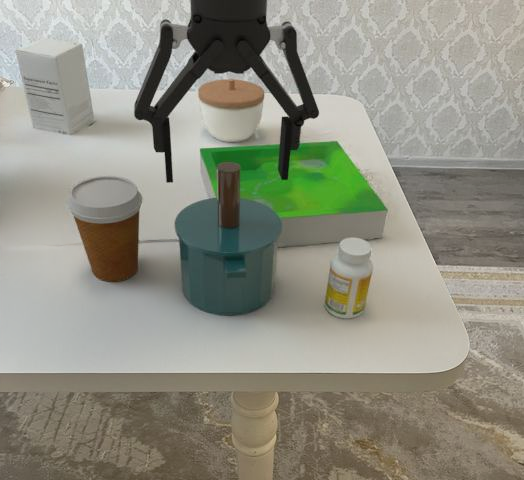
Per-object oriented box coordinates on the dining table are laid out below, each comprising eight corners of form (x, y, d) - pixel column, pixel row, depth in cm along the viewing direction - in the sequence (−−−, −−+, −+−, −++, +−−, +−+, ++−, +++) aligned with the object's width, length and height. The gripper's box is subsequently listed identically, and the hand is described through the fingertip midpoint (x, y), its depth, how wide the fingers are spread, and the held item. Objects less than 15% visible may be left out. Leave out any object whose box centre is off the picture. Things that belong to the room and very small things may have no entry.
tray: (381, 238, 92) (387, 209, 89) (224, 251, 88) (224, 222, 84) (333, 167, 110) (337, 141, 107) (200, 175, 106) (199, 148, 102)
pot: (185, 332, 74) (182, 269, 68) (179, 252, 87) (175, 194, 81) (284, 325, 76) (290, 264, 69) (263, 248, 89) (266, 191, 82)
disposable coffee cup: (120, 297, 79) (108, 217, 71) (65, 275, 82) (48, 196, 74) (163, 263, 85) (156, 186, 77) (110, 243, 88) (99, 167, 80)
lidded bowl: (189, 143, 115) (187, 85, 108) (213, 120, 124) (212, 65, 117) (250, 155, 113) (252, 95, 105) (270, 130, 122) (273, 74, 114)
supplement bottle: (327, 320, 77) (337, 258, 70) (321, 295, 81) (329, 234, 74) (368, 319, 77) (381, 257, 71) (360, 294, 81) (371, 234, 75)
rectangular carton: (58, 114, 123) (43, 36, 113) (95, 122, 121) (84, 42, 111) (31, 130, 117) (13, 48, 107) (71, 138, 115) (56, 56, 105)
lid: (177, 263, 70) (172, 196, 64) (172, 206, 79) (168, 143, 74) (290, 257, 71) (296, 192, 66) (272, 202, 81) (275, 141, 75)
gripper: (91, -28, 52) (119, 193, 66) (366, -21, 55) (335, 188, 70) (96, -45, 57) (120, 163, 71) (346, -37, 61) (321, 160, 75)
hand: (226, 176), depth 70 cm, fingers open, 13 cm apart
